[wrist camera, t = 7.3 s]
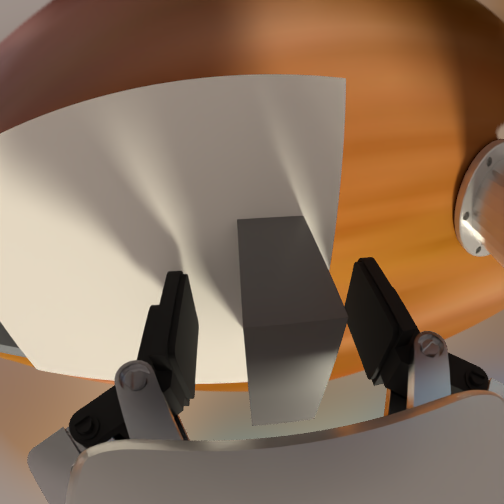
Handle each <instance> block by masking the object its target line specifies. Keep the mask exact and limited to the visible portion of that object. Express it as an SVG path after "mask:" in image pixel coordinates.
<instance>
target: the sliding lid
mask: <svg viewBox="0 0 504 504" xmlns="http://www.w3.org/2000/svg"><path fill="white" fill-rule="evenodd" d="M345 98H346V78H336V77H325V76H310V75H284V74H260V75H233V76H218V77H207V78H197V79H189V80H181V81H174V82H167V83H161V84H155V85H150V86H144V87H139V88H134V89H130V90H125V91H121V92H117V93H112V94H108V95H105V96H101V97H97V98H93V99H90V100H86V101H83V102H80V103H77V104H73V105H70V106H67V107H64V108H61V109H58V110H56V111H53V112H50V113H47V114H45V115H42V116H39V117H37V118H34V119H32V120H29V121H27V122H25V123H22V124H20V125H18V126H15V127H13V128H11V129H9V130H7V131H5V132H2V133H0V322H1V323H2V325H3V326H4V328H5V329H6V330H7V332H8V333H9V335H10V336H11V337H12V339H13V340H14V341H15V343H16V344H17V345H18V347H19V348H20V349H21V351H22V352H23V353H24V354H25V356H26V357H27V358H28V359H29V361H30V362H31V363H32V364H33V365H34V367H35V368H36V369H37V370H42V371H47V372H52V373H58V374H65V375H71V376H78V377H86V378H94V379H103V380H114V381H115V379H114V378H115V375H116V372H117V371H118V369H119V368H120V367H121V366H122V365H123V364H125V363H127V362H129V361H133V360H137V357H138V352H139V348H140V343H141V339H142V335H143V331H144V327H145V323H146V319H147V315H148V311H149V308H150V306H151V305H159V303H160V299H161V295H162V291H163V287H164V283H165V279H166V275H167V272H168V271H182V272H183V274H188V277H189V282H190V287H191V291H192V296H193V300H194V304H195V309H196V313H197V317H198V322H199V334H198V347H197V361H196V377H195V384H209V383H235V382H248V388H249V398H250V409H251V418H252V426H254V425H255V426H256V425H268V424H278V423H287V422H294V421H302V420H309V419H314V417H315V415H316V413H317V410H318V408H319V405H320V402H321V400H322V397H323V394H324V391H325V389H326V386H327V383H328V380H329V378H330V375H331V372H332V369H333V366H334V363H335V360H336V357H337V354H338V350H339V347H340V344H341V341H342V337H343V334H344V331H345V327H346V324H347V320H348V315H347V312H346V310H345V307H344V305H343V303H342V300H341V298H340V296H339V293H338V291H337V288H336V286H335V284H334V282H333V279H332V277H331V275H330V272H329V269H330V263H331V256H332V249H333V242H334V234H335V226H336V218H337V210H338V200H339V191H340V180H341V169H342V156H343V142H344V124H345Z"/></svg>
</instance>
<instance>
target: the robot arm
mask: <svg viewBox="0 0 504 504" xmlns="http://www.w3.org/2000/svg"><path fill="white" fill-rule="evenodd" d="M454 223H455V232H456V235H457V238H458V241H459V242H460V244H461V246H463V247H464V248H465V250H466V251H467V252H468V253H470V254H472V255H474V256H486V255H489V254H491V255H492V256H493V257H494V258H495V259H496V260H497V261H498V262H499V263H500V264H501V265H502V267H503V268H504V139H499V140H496V141H493V142H491V143H490V144H488V145H487V146H485V147H484V148H483V149H482V150H481V151H480V152H479V153H478V155H477V156H476V157H475V159H474V160H473V162H472V163H471V165H470V167H469V168H468V170H467V172H466V174H465V176H464V179H463V181H462V184H461V186H460V190H459V193H458V197H457V202H456V207H455V219H454ZM344 307H345V310H346V312H347V315H348V320H347V324H348V327H349V329H350V332H351V334H352V337H353V340H354V342H355V345H356V348H357V350H358V353H359V356H360V358H361V361H362V364H363V367H364V369H365V372H366V375H367V377H368V379H372V382H373V384H374V386H375V385H379V384H383V383H384V386H385V387H386V388H387V394H386V402H385V410H384V417H380V418H376V419H373V420H369V421H365V422H361V423H356V424H352V425H348V426H343V427H338V428H333V429H328V430H322V431H316V432H310V433H304V434H297V435H289V436H281V437H271V438H260V439H246V440H224V441H190V439H189V437H188V435H187V432H186V430H185V428H184V426H183V423H182V421H181V419H180V417H179V413H180V412H182V411H183V407H184V406H189V401H190V399H193V398H194V395H195V377H196V361H197V347H198V334H199V322H198V317H197V313H196V309H195V304H194V300H193V296H192V291H191V287H190V282H189V277H188V274H183V272H182V271H168V272H167V275H166V279H165V283H164V287H163V291H162V295H161V299H160V303H159V305H151V306H150V308H149V311H148V315H147V319H146V323H145V327H144V331H143V335H142V339H141V343H140V348H139V352H138V357H137V360H133V361H129V362H127V363H125V364H123V365H122V366H121V367H120V368H119V369H118V371H117V372H116V375H115V378H114V379H115V385H114V386H113V387H112V388H110V389H109V390H107V391H106V392H104V393H103V394H102V395H100V396H99V397H97V398H96V399H94V400H93V401H91V402H90V403H89V404H87V405H86V406H84V407H83V408H81V409H80V410H78V411H77V412H76V413H75V414H74V415H73V416H72V418H71V419H70V423H69V427H67V428H66V429H65V428H64V427H62V428H61V429H60V430H58V431H57V432H55V433H54V434H53V435H51V436H50V437H48V438H47V439H46V440H44V441H43V442H41V443H40V444H39V445H37V446H36V447H34V448H33V449H32V450H31V451H30V452H29V455H28V465H29V468H30V470H31V472H32V474H33V476H34V478H35V480H36V482H37V484H38V485H39V487H40V489H41V491H42V493H43V494H44V496H45V498H46V499H47V501H48V503H49V504H504V384H502V383H500V382H498V381H496V380H494V379H492V378H491V379H490V380H488V377H487V375H486V373H485V372H484V371H483V369H481V368H480V367H478V366H476V365H474V364H472V363H469V362H467V361H465V360H463V359H461V358H459V357H457V356H454V355H452V354H450V353H448V349H447V345H446V342H445V341H444V339H443V338H442V337H441V336H440V335H438V334H437V333H435V332H431V331H424V332H421V333H420V332H419V330H418V328H417V326H416V325H415V323H414V321H413V319H412V318H411V316H410V314H409V312H408V311H407V309H406V307H405V305H404V304H403V302H402V300H401V299H400V297H399V295H398V294H397V292H396V291H395V289H394V288H393V287H392V286H391V284H390V283H389V281H388V280H387V278H386V276H385V275H384V273H383V272H382V270H381V268H380V267H379V265H378V264H377V262H376V261H375V259H374V258H373V257H368V258H360V259H359V260H358V262H355V263H354V267H353V272H352V277H351V281H350V285H349V290H348V294H347V298H346V302H345V306H344Z"/></svg>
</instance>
